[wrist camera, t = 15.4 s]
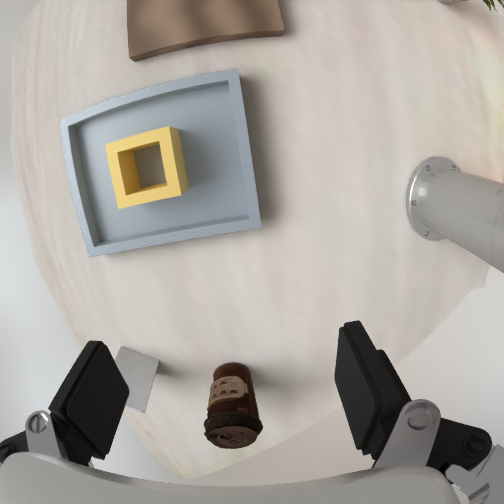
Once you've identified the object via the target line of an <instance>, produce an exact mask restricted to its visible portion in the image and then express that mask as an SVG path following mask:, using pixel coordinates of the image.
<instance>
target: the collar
mask: <svg viewBox="0 0 504 504" xmlns="http://www.w3.org/2000/svg"><path fill="white" fill-rule="evenodd" d="M158 144H160V149H161V155H162V160H163V166H164V171H165V176H166V181H167V182H165V183H161V184H156V185H152V186H148V187H143V188H141V186H140V181H139V176H138V171H137V166H136V161H135V156H134V151H135V150H139V149H142V148H146V147H150V146H154V145H158ZM105 146H106V152H107V157H108V163H109V168H110V173H111V178H112V183H113V187H114V192H115V196H116V200H117V205H118V209H122V208H126V207H130V206H134V205H138V204H143V203H147V202H152V201H156V200H161V199H166V198H170V197H175V196H180V195H182V194H183V193H184V192H185V191H186V190H188V189H189V184H188V179H187V173H186V168H185V162H184V157H183V151H182V145H181V139H180V133H179V129H177V128H173V127H170V126H168V127H163V128H159V129H156V130H152V131H148V132H144V133H141V134H137V135H134V136H130V137H127V138H124V139H121V140H117V141H114V142H111V143H108V144H105Z"/></svg>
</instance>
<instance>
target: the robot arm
mask: <svg viewBox="0 0 504 504" xmlns="http://www.w3.org/2000/svg"><path fill="white" fill-rule="evenodd" d="M406 205H407V213H408V217H409V220H410V223H411V225H412V227H413V228H414V229H415V231H416V232H417V233H418V234H420V235H421V236H422V237H424V238H426V239H429V240H440V239H443V238H447V239H449V240H451V241H452V242H454V243H456V244H458V245H459V246H461V247H463V248H464V249H466V250H468V251H469V252H471V253H473V254H474V255H476V256H478V257H479V258H481V259H482V260H484V261H486V262H487V263H489V264H490V265H492V266H493V267H495V268H497V269H498V270H500V271H501V272H503V273H504V184H503V183H499V182H496V181H493V180H489V179H486V178H482V177H478V176H474V175H470V174H466V173H462V172H461V171H460V169H459V168H458V166H457V165H456V164H455V163H454V162H452V161H451V160H449V159H447V158H442V157H433V158H429V159H427V160H426V161H424V162H423V163H422V164H421V165H419V166H418V168H417V169H416V171H415V172H414V174H413V176H412V178H411V180H410V183H409V186H408V191H407V201H406ZM335 383H336V386H337V389H338V392H339V395H340V398H341V401H342V405H343V408H344V411H345V414H346V417H347V420H348V423H349V427H350V430H351V433H352V436H353V439H354V443H355V446H356V448H357V450H360V449H361V450H362V453H363V455H367V454H371V456H372V459H374V460H375V462H374V464H373V466H372V467H371V469H368V470H362V471H357V472H352V473H347V474H342V475H338V476H332V477H327V478H322V479H315V480H309V481H302V482H294V483H286V484H276V485H263V486H240V487H217V486H194V485H182V484H172V483H163V482H156V481H150V480H144V479H138V478H133V477H127V476H123V475H118V474H114V473H110V472H106V471H102V470H98V469H95V468H94V466H93V464H92V461H91V457H92V456H93V457H94V458H98V459H102V460H104V459H105V456H106V455H107V454H108V453H109V451H110V448H111V445H112V442H113V439H114V436H115V433H116V430H117V427H118V424H119V421H120V419H121V416H122V413H123V410H124V408H125V405H126V402H127V399H128V397H129V393H130V391H129V387H128V385H127V383H126V381H125V380H124V378H123V376H122V374H121V372H120V371H119V369H118V367H117V365H116V363H115V361H114V359H113V357H112V355H111V353H110V351H109V349H108V347H107V346H106V345H104V343H103V342H102V341H89V342H88V343H87V344H86V346H85V347H84V349H83V350H82V352H81V354H80V355H79V357H78V358H77V360H76V362H75V363H74V365H73V366H72V368H71V370H70V372H69V373H68V375H67V376H66V378H65V380H64V381H63V383H62V385H61V386H60V388H59V390H58V392H57V393H56V395H55V397H54V399H53V400H52V402H51V404H50V406H49V408H48V409H49V410H50V411H51V413H50V415H49V414H48V413H47V412H45V411H36V412H34V413H32V414H31V415H30V416H29V417H28V419H27V421H26V424H25V431H23V432H21V433H19V434H17V435H14V436H12V437H10V438H8V439H5V440H4V441H2V442H1V443H0V504H460V501H459V499H458V497H457V495H456V493H455V491H454V489H453V487H452V486H451V484H454V483H455V484H456V485H458V486H459V487H461V489H460V490H461V491H462V492H464V493H465V494H466V495H467V496H468V499H469V504H504V448H503V447H501V446H500V445H498V444H497V445H496V446H494V445H492V440H491V437H490V435H489V434H488V433H487V432H486V431H485V430H483V429H480V428H477V427H473V426H469V425H465V424H462V423H458V422H454V421H451V420H448V419H444V418H441V414H440V410H439V409H438V407H437V406H436V405H435V404H434V403H432V402H430V401H428V400H423V399H418V400H413V401H412V400H411V399H410V396H409V394H408V392H407V391H406V389H405V387H404V385H403V383H402V382H401V380H400V378H399V376H398V375H397V372H396V371H395V369H394V367H393V365H392V363H391V362H390V360H389V358H388V356H387V355H386V353H385V352H384V351H383V350H382V349H381V350H376V348H375V346H374V345H373V343H372V341H371V339H370V337H369V336H368V334H367V332H366V330H365V329H364V327H363V325H362V324H361V322H360V321H359V320H358V321H352V322H346V323H344V327H340V329H339V338H338V349H337V358H336V367H335Z"/></svg>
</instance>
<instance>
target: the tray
mask: <svg viewBox="0 0 504 504" xmlns="http://www.w3.org/2000/svg"><path fill="white" fill-rule="evenodd" d="M168 126H170V127H173V128H177V129H179V133H180V139H181V145H182V151H183V157H184V162H185V168H186V173H187V179H188V184H189V189H188V190H186V191H185V192H184V193H183V194H182V195H180V196H175V197H170V198H166V199H161V200H156V201H152V202H147V203H143V204H138V205H134V206H130V207H126V208H122V209H118V205H117V200H116V196H115V192H114V187H113V183H112V178H111V173H110V168H109V163H108V157H107V152H106V146H105V144H108V143H111V142H114V141H117V140H121V139H124V138H127V137H130V136H134V135H137V134H141V133H144V132H148V131H152V130H156V129H159V128H163V127H168ZM60 130H61V138H62V145H63V152H64V158H65V164H66V169H67V174H68V179H69V184H70V189H71V193H72V197H73V202H74V206H75V210H76V214H77V217H78V221H79V225H80V228H81V232H82V235H83V239H84V242H85V245H86V248H87V251H88V254H89V258H90V257H95V256H100V255H105V254H110V253H116V252H121V251H126V250H132V249H137V248H143V247H148V246H154V245H159V244H165V243H171V242H176V241H182V240H188V239H194V238H200V237H206V236H212V235H218V234H224V233H230V232H237V231H243V230H249V229H256V228H262V226H261V219H260V212H259V205H258V198H257V191H256V184H255V177H254V170H253V163H252V156H251V150H250V143H249V136H248V130H247V123H246V117H245V110H244V104H243V97H242V91H241V85H240V78H239V72H238V69H231V70H225V71H218V72H212V73H207V74H201V75H196V76H191V77H187V78H182V79H178V80H174V81H169V82H165V83H162V84H158V85H154V86H151V87H147V88H144V89H140V90H137V91H134V92H131V93H128V94H124V95H122V96H119V97H116V98H113V99H110V100H107V101H105V102H102V103H99V104H97V105H94V106H92V107H89V108H87V109H84V110H82V111H80V112H77V113H75V114H73V115H71V116H68V117H66V118H64V119H62V120H60ZM134 156H135V161H136V166H137V171H138V176H139V181H140V186H141V188H143V187H148V186H152V185H156V184H161V183H165V182H167V181H166V176H165V171H164V166H163V160H162V155H161V149H160V144H158V145H154V146H150V147H146V148H142V149H139V150H135V151H134Z"/></svg>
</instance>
